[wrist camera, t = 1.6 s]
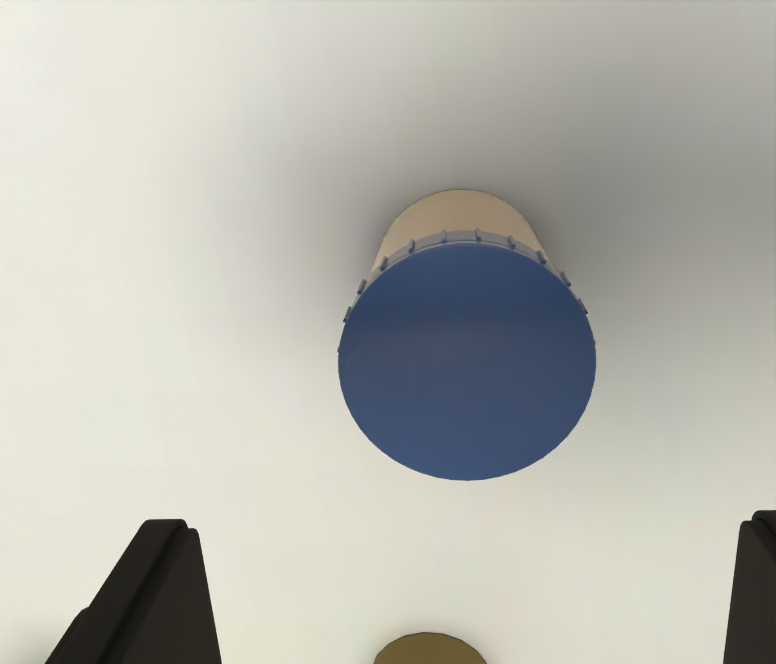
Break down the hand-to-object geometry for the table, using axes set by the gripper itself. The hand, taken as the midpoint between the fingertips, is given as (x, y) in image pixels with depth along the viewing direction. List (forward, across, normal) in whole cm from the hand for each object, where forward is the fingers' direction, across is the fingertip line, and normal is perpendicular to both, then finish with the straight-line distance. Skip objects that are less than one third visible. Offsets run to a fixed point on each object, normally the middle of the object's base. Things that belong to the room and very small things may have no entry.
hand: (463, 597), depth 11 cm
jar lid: (+9, 0, 0) cm, 9 cm away
